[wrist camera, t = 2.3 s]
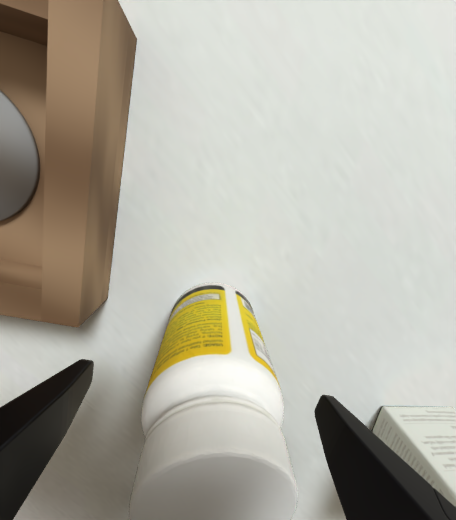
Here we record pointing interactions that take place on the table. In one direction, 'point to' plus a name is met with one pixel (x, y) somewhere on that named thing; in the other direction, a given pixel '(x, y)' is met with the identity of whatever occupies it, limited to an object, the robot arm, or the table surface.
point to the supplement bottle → (213, 418)
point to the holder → (61, 153)
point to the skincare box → (423, 442)
